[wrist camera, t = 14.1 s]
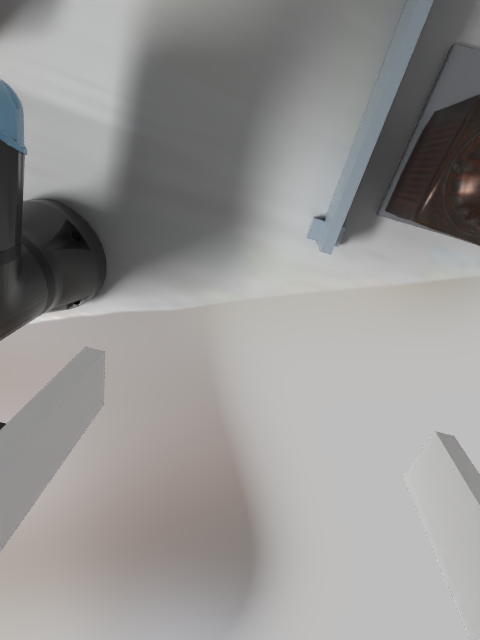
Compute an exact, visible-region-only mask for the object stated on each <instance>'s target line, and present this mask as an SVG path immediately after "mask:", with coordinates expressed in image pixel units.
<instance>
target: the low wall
mask: <svg viewBox="0 0 480 640" xmlns="http://www.w3.org/2000/svg"><path fill="white" fill-rule="evenodd" d="M433 1H434V0H407V2H406V4H405V7H404V10H403V12H402V15H401V18H400V20H399V23H398V26H397V28H396V31H395V34H394V36H393V39H392V42H391V44H390V47H389V50H388V52H387V55H386V58H385V60H384V63H383V66H382V68H381V71H380V74H379V76H378V79H377V82H376V84H375V87H374V90H373V92H372V95H371V98H370V100H369V103H368V106H367V108H366V111H365V114H364V116H363V119H362V122H361V124H360V127H359V130H358V132H357V135H356V138H355V140H354V143H353V146H352V148H351V151H350V154H349V156H348V159H347V162H346V164H345V167H344V170H343V172H342V175H341V177H340V180H339V183H338V185H337V188H336V191H335V193H334V196H333V199H332V201H331V204H330V207H329V209H328V212H327V215H326V217H325V220H321V219H318V218H314V217H313V220H312V223H311V225H310V228H309V231H308V234H307V238H309V239H312V240H316V242H317V244H318V247H319V249H320V251H321V252H324V253H328V254H331V253H332V250H333V248H334V246H336V247H339V244H340V242H341V239H342V237H343V234H344V232H345V230H346V227H345V226H343V223H344V221H345V218H346V216H347V213H348V211H349V208H350V206H351V204H352V201H353V199H354V196H355V194H356V191H357V189H358V186H359V184H360V181H361V179H362V176H363V174H364V171H365V169H366V167H367V164H368V162H369V159H370V157H371V154H372V152H373V149H374V147H375V144H376V142H377V139H378V137H379V134H380V132H381V130H382V127H383V125H384V122H385V120H386V117H387V115H388V112H389V110H390V107H391V105H392V102H393V100H394V97H395V95H396V93H397V90H398V88H399V85H400V83H401V80H402V78H403V75H404V73H405V70H406V68H407V65H408V63H409V60H410V58H411V56H412V53H413V51H414V48H415V46H416V43H417V41H418V38H419V36H420V33H421V31H422V28H423V26H424V23H425V21H426V19H427V16H428V14H429V11H430V9H431V6H432V4H433Z"/></svg>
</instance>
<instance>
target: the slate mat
mask: <svg viewBox="0 0 480 640" xmlns="http://www.w3.org/2000/svg"><path fill="white" fill-rule="evenodd" d="M479 94H480V51H478V50H475V49H472V48H468V47H465V46H462V45H458V44H454V45H453V46H452V47H451V50H450V52H449V54H448V56H447V59H446V61H445V63H444V65H443V67H442V70H441V72H440V74H439V76H438V79H437V81H436V83H435V85H434V88H433V90H432V92H431V94H430V96H429V99H428V101H427V103H426V105H425V108H424V110H423V112H422V114H421V117H420V119H419V121H418V123H417V125H416V128H415V130H414V132H413V134H412V137H411V139H410V141H409V143H408V146H407V148H406V150H405V152H404V154H403V157H402V159H401V161H400V163H399V166H398V168H397V170H396V172H395V175H394V177H393V179H392V181H391V183H390V186H389V188H388V190H387V192H386V195H385V197H384V199H383V201H382V204H381V206H380V208H379V210H378V212H377V215H379V216H383V217H386V218H390V219H393V220H396V221H400V222H403V223H407V224H410V225H413V226H417V227H420V228H424V229H427V230H430V231H434V232H437V233H440V234H443V233H441V232H438V231H435V230H432V229H429V228H427V227H425V226H422V225H420V224H417V223H414V222H412V221H409V220H405V219H402V218H399V217H397V216H395V215H393V214H391V213H388V212H386V211H385V209H386V207H387V205H388V202H389V200H390V198H391V196H392V193H393V191H394V189H395V187H396V184H397V182H398V180H399V178H400V175H401V173H402V171H403V169H404V167H405V165H406V163H407V161H408V159H409V156H410V154H411V152H412V150H413V148H414V146H415V144H416V142H417V140H418V138H419V136H420V134H421V132H422V130H423V129H424V127H425V126H426V124H427V123H428V121H429V120H430V118H431V117H432V115H433V114H434V112H435V111H438V110H441V109H444V108H446V107H449V106H451V105H454V104H456V103H459V102H461V101H464V100H466V99H469V98H471V97H474V96H476V95H479ZM444 235H446V234H444ZM447 236H449V235H447ZM451 237H452V236H451ZM454 238H455V237H454ZM457 239H458V238H457Z"/></svg>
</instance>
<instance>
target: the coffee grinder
mask: <svg viewBox="0 0 480 640" xmlns="http://www.w3.org/2000/svg"><path fill="white" fill-rule="evenodd" d="M385 211H386V212H388V213H391V214H393V215H395V216H397V217H399V218H402V219H405V220H409V221H412V222H414V223H417V224H420V225H422V226H425V227H427V228H429V229H432V230H435V231H438V232H441V233H443V234H446V235H449V236H452V237H455V238H458V239H461V240H464V241H467V242H470V243H473V244H476V245H478V246H480V94H479V95H476V96H474V97H471V98H469V99H466V100H464V101H461V102H459V103H456V104H454V105H451V106H449V107H446V108H444V109H441V110H438V111H435V112H434V114H433V115H432V117H431V118H430V120H429V121H428V123H427V124H426V126H425V127H424V129H423V130H422V132H421V134H420V136H419V138H418V140H417V142H416V144H415V146H414V148H413V150H412V152H411V154H410V156H409V159H408V161H407V163H406V165H405V167H404V169H403V171H402V173H401V175H400V178H399V180H398V182H397V184H396V187H395V189H394V191H393V193H392V196H391V198H390V200H389V202H388V205H387V207H386V209H385Z"/></svg>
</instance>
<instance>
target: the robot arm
mask: <svg viewBox="0 0 480 640" xmlns="http://www.w3.org/2000/svg"><path fill="white" fill-rule="evenodd" d="M25 155H27V149H26V147H25V146H24V114H23V107H22V104H21V101H20V99H19V97H18V96H17V94H16V93H15V92H14V90H13V89H12V88H11V87H10V86H9V85H8V84H7V83H5V82H4V81H3V80H1V79H0V340H2V339H4V338H5V337H7V336H8V335H10V334H11V333H13V332H14V331H16V330H18V329H19V328H21V327H22V326H24V325H26V324H27V323H29V322H30V321H32V320H33V319H35V318H36V317H38V316H40V315H41V314H43V313H49V312H55V311H61V310H67V309H72V308H75V307H78V306H80V305H82V304H84V303H85V302H87V301H88V300H90V299H91V298H92V297H94V296H95V295H96V294H97V293H98V292H99V290H100V289H101V287H102V285H103V283H104V279H105V275H106V260H105V255H104V251H103V248H102V246H101V243H100V241H99V239H98V237H97V236H96V234H95V232H94V231H93V230H92V228H91V227H90V226H89V224H88V223H87V222H86V221H85V220H84V219H83V218H82V217H81V216H79V215H78V214H77V213H76V212H74V211H73V210H71V209H70V208H68V207H66V206H64V205H62V204H60V203H57V202H54V201H50V200H44V199H35V200H27V201H23V185H24V160H25ZM104 374H105V351H101V350H96V349H93V348H88V347H85V348H84V349H83V350H82V351H81V352H80V353H79V354H78V355H77V356H75V358H73V359H72V361H71V362H69V363H68V364H67V365H66V366H65V367H64V368H63V369H62V370H61V371H60V372H59V373H58V374H57V375H56V376H55V377H54V378H53V379H52V380H51V381H50V382H49V383H48V384H47V385H46V386H45V387H44V388H43V389H42V390H41V391H40V392H39V393H38V394H37V395H36V396H35V397H34V398H32V400H30V402H28V403H27V404H26V405H25V406H24V407H23V408H22V410H20V411H19V412H18V413H17V414H16V415H15V416H14V417H13V418H12V419H11V420H10V421H9V422H8V423H7V424H5V423H1V422H0V551H1V550H2V549H3V547H4V546H5V544H6V543H7V542H8V540H9V539H10V537H11V536H12V534H13V533H14V532H15V530H16V529H17V527H18V526H19V525H20V523H21V522H22V520H23V519H24V517H25V516H26V515H27V513H28V512H29V510H30V509H31V507H32V506H33V505H34V503H35V502H36V500H37V499H38V498H39V496H40V495H41V493H42V492H43V490H44V489H45V488H46V486H47V484H48V483H49V482H50V480H51V479H52V478H53V476H54V475H55V473H56V472H57V470H58V469H59V468H60V466H61V465H62V463H63V462H64V461H65V459H66V458H67V456H68V455H69V453H70V452H71V450H72V449H73V448H74V446H75V445H76V443H77V442H78V440H79V439H80V438H81V436H82V435H83V433H84V432H85V431H86V429H87V428H88V426H89V425H90V424H91V422H92V420H93V419H94V418H95V416H96V415H97V414H98V412H99V411H100V409H101V408H102V406H103V405H104ZM403 478H404V480H405V483H406V485H407V488H408V490H409V493H410V495H411V497H412V500H413V502H414V505H415V507H416V510H417V512H418V515H419V517H420V519H421V522H422V524H423V527H424V529H425V532H426V534H427V536H428V539H429V541H430V544H431V546H432V549H433V551H434V553H435V556H436V558H437V560H438V563H439V566H440V568H441V571H442V573H443V575H444V578H445V580H446V583H447V585H448V588H449V590H450V592H451V595H452V597H453V600H454V602H455V604H456V607H457V610H458V612H459V614H460V617H461V619H462V622H463V624H464V627H465V629H466V632H467V634H468V636H469V639H470V640H480V474H479V473H478V471H477V470H476V468H475V467H474V465H473V464H472V463H471V461H470V459H469V458H468V456H467V455H466V453H465V452H464V450H463V449H462V447H461V446H460V444H459V443H458V441H457V440H456V438H455V437H454V436H452V435H447V434H443V433H440V432H434V434H433V435H432V437H431V438H430V439H429V441H428V442H427V444H426V445H425V446H424V448H423V449H422V450H421V452H420V453H419V455H418V456H417V457H416V459H415V460H414V461H413V463H412V464H411V465H410V467H409V468H408V470H407V471H406V472H405V474H404V475H403Z"/></svg>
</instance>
